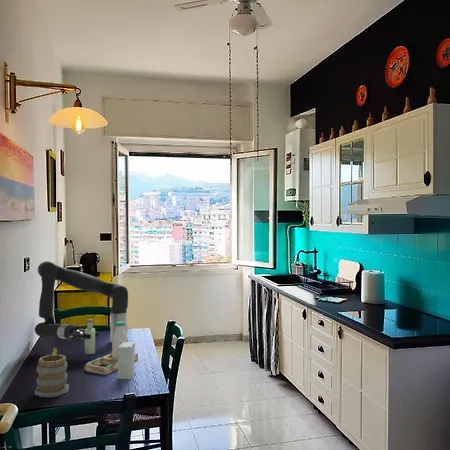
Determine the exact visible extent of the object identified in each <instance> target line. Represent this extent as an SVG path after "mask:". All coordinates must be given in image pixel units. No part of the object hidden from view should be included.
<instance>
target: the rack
mask: <svg viewBox="0 0 450 450" xmlns="http://www.w3.org/2000/svg"><path fill="white" fill-rule="evenodd" d="M138 357H139V355H138V353H134V362H136V361H139V358H138ZM102 365H105V366H102ZM116 371H118V359H113V358H112V353H110V354H107V355H105V356H102V357H98V358H96V359H93V360H92V361H89V362H86V364H84V372H88V373H94V374H99V375H105V376H106V375H107V376H108V375H109V374H111V373H113V372H116Z"/></svg>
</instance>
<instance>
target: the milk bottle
mask: <svg viewBox="0 0 450 450" xmlns="http://www.w3.org/2000/svg"><path fill="white" fill-rule="evenodd" d="M124 327H125V322H123V321H119V322H116V330H115V333H114V335H113V341H112V343H111V344H112V347H111V349H112V350H111V351H112V358H113V359H118V357H119V346H120V345H121V344H122V342H129V338H128V333H127V334H126V331H125V328H124Z"/></svg>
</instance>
